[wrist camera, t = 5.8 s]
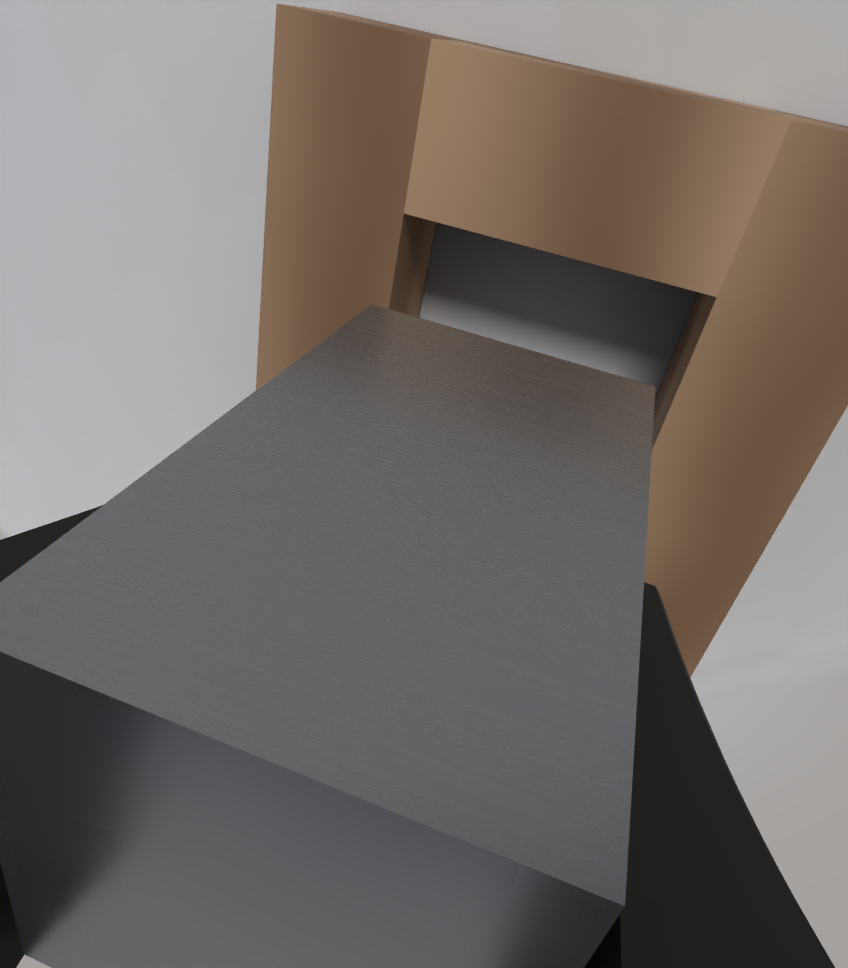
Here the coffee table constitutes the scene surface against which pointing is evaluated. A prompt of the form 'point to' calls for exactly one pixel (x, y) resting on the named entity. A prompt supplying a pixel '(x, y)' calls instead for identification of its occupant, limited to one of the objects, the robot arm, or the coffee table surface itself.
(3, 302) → the coffee table surface
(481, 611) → the peg
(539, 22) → the coffee table surface
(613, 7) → the coffee table surface
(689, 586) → the socket block
